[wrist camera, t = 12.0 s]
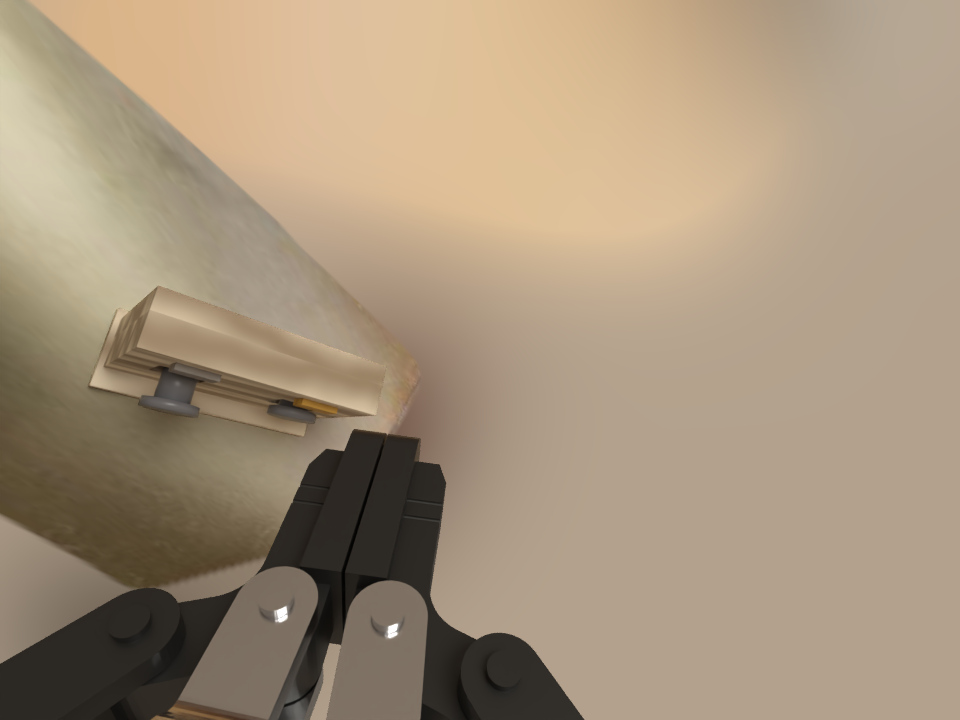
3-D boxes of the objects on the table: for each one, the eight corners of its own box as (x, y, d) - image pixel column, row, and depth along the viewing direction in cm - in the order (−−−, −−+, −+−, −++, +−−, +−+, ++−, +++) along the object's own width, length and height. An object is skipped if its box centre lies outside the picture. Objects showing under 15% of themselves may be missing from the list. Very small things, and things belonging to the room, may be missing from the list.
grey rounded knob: (302, 423, 60) (322, 423, 56) (259, 413, 57) (277, 411, 53) (312, 386, 61) (332, 383, 57) (270, 374, 58) (288, 370, 54)
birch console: (298, 436, 67) (375, 436, 54) (87, 386, 54) (119, 370, 40) (315, 373, 69) (392, 358, 56) (116, 310, 56) (155, 271, 43)
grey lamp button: (189, 418, 53) (204, 417, 49) (133, 405, 50) (144, 403, 46) (203, 375, 54) (218, 371, 50) (148, 360, 51) (160, 355, 47)
